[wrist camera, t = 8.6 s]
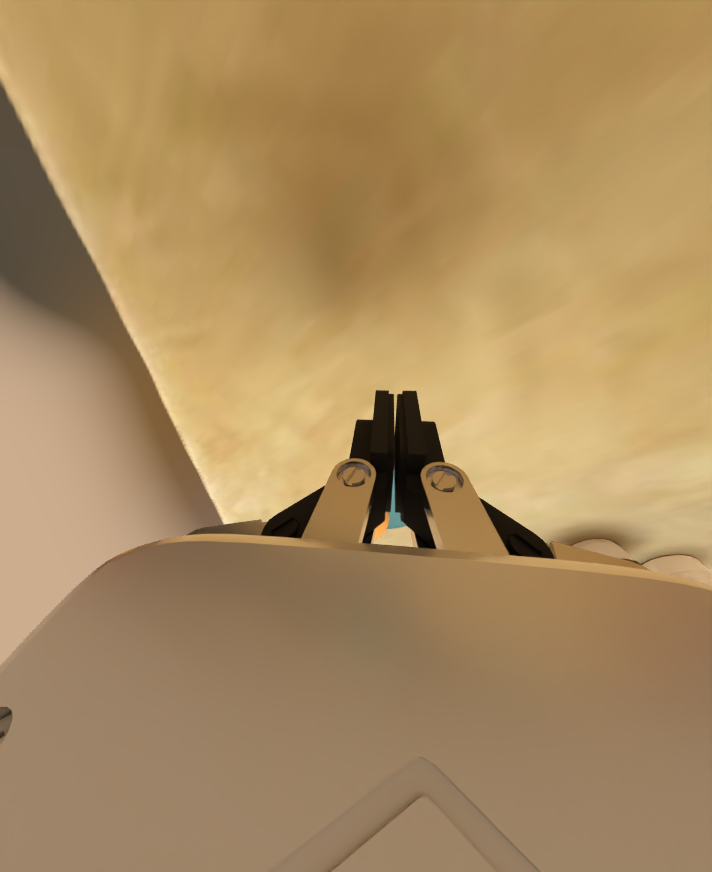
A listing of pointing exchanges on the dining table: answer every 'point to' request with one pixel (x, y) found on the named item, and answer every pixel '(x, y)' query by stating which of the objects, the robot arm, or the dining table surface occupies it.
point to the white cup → (681, 568)
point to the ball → (382, 526)
